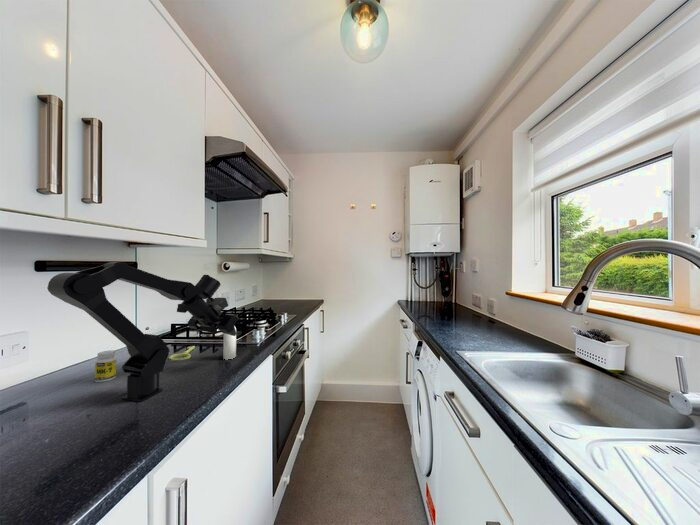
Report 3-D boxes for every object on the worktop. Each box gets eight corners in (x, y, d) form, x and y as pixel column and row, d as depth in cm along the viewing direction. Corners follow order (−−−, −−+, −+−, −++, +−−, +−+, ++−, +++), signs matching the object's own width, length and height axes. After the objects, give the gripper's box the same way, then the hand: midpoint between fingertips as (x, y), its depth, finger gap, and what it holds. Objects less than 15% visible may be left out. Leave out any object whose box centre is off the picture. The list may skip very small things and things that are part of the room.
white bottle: (231, 360, 96) (231, 324, 97) (220, 359, 97) (221, 324, 97) (238, 356, 101) (238, 322, 101) (228, 355, 102) (228, 321, 102)
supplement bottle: (92, 383, 77) (93, 355, 77) (97, 378, 81) (97, 351, 81) (114, 380, 79) (114, 352, 80) (117, 374, 83) (118, 348, 84)
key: (195, 350, 109) (195, 345, 109) (189, 360, 98) (189, 354, 98) (175, 352, 106) (175, 347, 106) (166, 362, 95) (166, 357, 95)
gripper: (234, 292, 89) (256, 317, 99) (195, 290, 95) (219, 314, 106) (215, 319, 82) (241, 343, 92) (174, 315, 88) (202, 338, 98)
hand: (225, 333), depth 97 cm, fingers open, 9 cm apart
